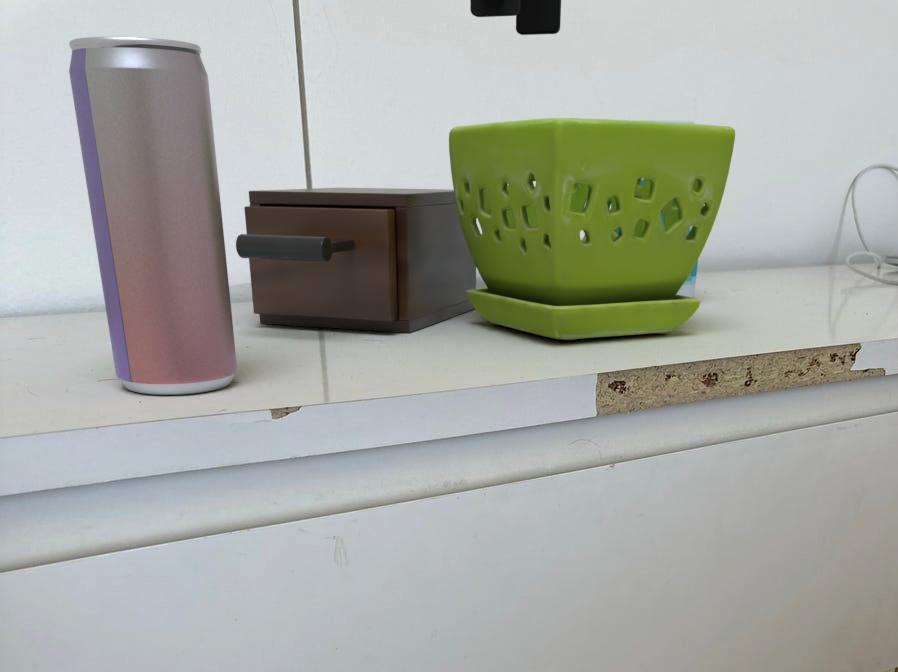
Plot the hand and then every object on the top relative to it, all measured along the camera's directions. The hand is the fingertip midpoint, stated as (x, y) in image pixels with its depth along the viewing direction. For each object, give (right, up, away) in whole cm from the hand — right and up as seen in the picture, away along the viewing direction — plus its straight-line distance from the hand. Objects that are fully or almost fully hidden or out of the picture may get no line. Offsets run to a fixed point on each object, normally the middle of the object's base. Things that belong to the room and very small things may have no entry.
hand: (517, 25), depth 66 cm
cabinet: (-11, -17, +7) cm, 22 cm away
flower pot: (+4, -21, +2) cm, 21 cm away
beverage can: (-18, -29, -16) cm, 38 cm away
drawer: (-12, -19, +3) cm, 22 cm away
